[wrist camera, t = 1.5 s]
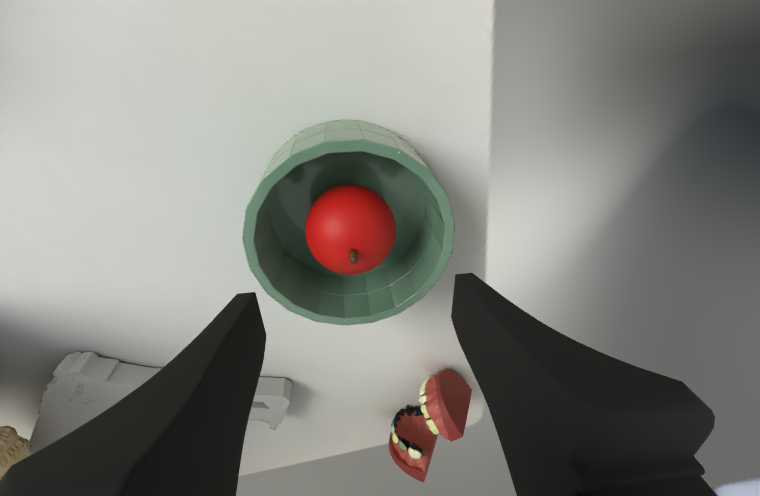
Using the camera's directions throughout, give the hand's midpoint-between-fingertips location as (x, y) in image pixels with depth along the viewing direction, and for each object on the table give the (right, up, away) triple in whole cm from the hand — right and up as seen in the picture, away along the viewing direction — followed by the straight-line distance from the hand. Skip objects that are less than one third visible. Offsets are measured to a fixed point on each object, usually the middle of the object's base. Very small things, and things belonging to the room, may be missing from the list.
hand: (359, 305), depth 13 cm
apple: (-1, +4, +7) cm, 8 cm away
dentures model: (+6, -8, +13) cm, 17 cm away
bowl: (-1, +4, +8) cm, 9 cm away
